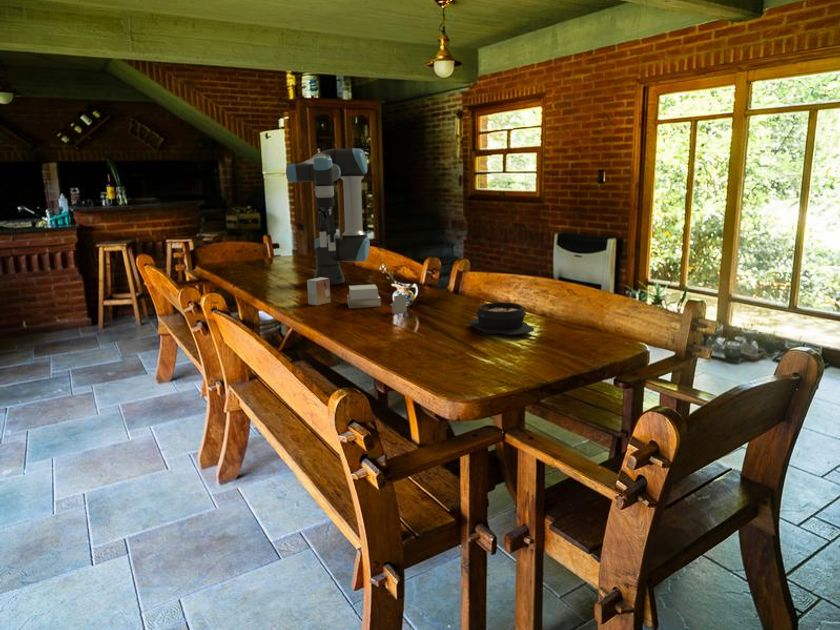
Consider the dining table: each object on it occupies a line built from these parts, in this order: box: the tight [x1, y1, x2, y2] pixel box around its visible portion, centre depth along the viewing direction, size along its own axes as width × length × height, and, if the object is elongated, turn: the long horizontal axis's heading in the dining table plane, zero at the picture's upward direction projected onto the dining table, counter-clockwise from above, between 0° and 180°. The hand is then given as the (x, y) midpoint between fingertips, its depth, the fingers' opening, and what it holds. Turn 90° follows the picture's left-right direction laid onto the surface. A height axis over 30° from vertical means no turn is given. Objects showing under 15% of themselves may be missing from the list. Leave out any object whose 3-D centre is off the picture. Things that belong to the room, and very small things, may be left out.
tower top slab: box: [348, 284, 379, 300], centre depth 248 cm, size 9×11×4 cm
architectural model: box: [389, 293, 410, 315], centre depth 235 cm, size 3×7×8 cm, turn 125°
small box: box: [306, 277, 332, 306], centre depth 253 cm, size 8×6×10 cm
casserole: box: [468, 302, 535, 336], centre depth 204 cm, size 25×19×8 cm
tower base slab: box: [346, 294, 382, 309], centre depth 249 cm, size 11×13×4 cm
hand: (327, 248), depth 249 cm, fingers open, 13 cm apart
